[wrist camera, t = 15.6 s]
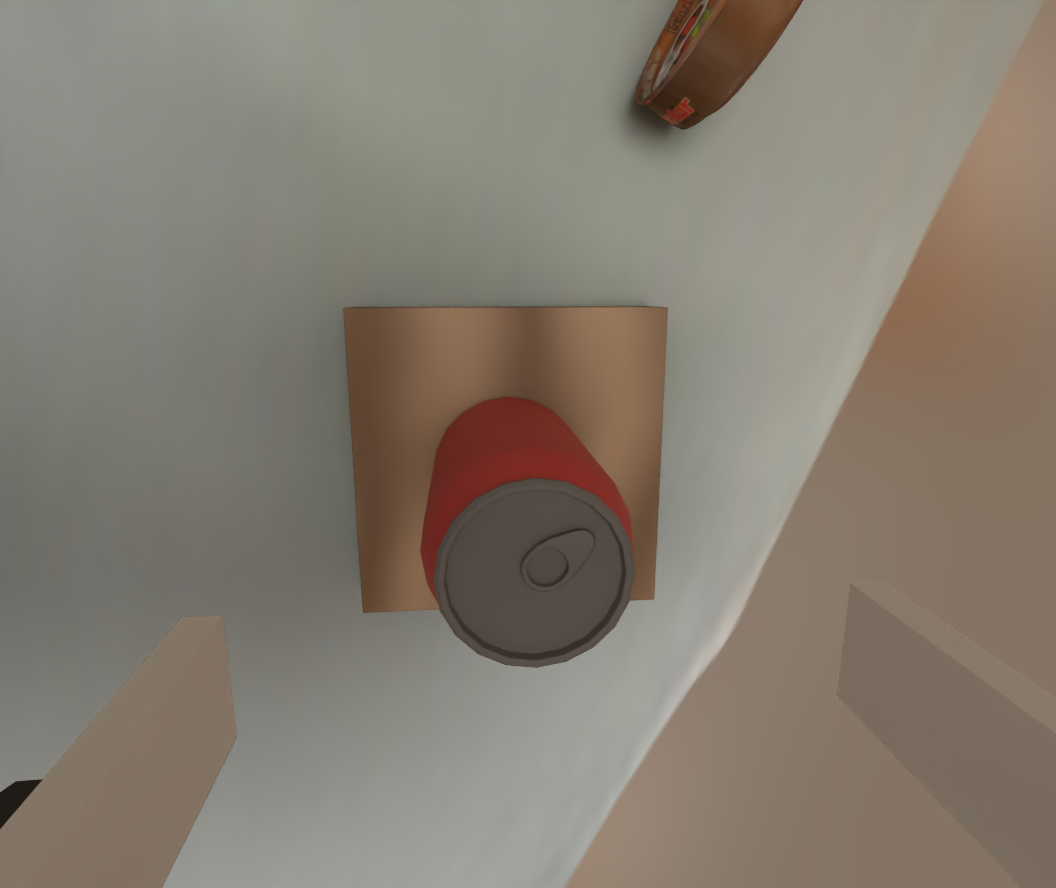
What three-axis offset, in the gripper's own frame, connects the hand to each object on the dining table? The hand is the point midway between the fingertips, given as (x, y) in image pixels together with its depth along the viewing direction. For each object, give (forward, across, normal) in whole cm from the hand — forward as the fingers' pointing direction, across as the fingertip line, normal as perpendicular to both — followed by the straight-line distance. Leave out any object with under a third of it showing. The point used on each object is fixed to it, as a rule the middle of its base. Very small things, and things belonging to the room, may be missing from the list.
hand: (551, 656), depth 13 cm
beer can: (+16, 0, 0) cm, 16 cm away
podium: (+19, 0, 0) cm, 19 cm away
